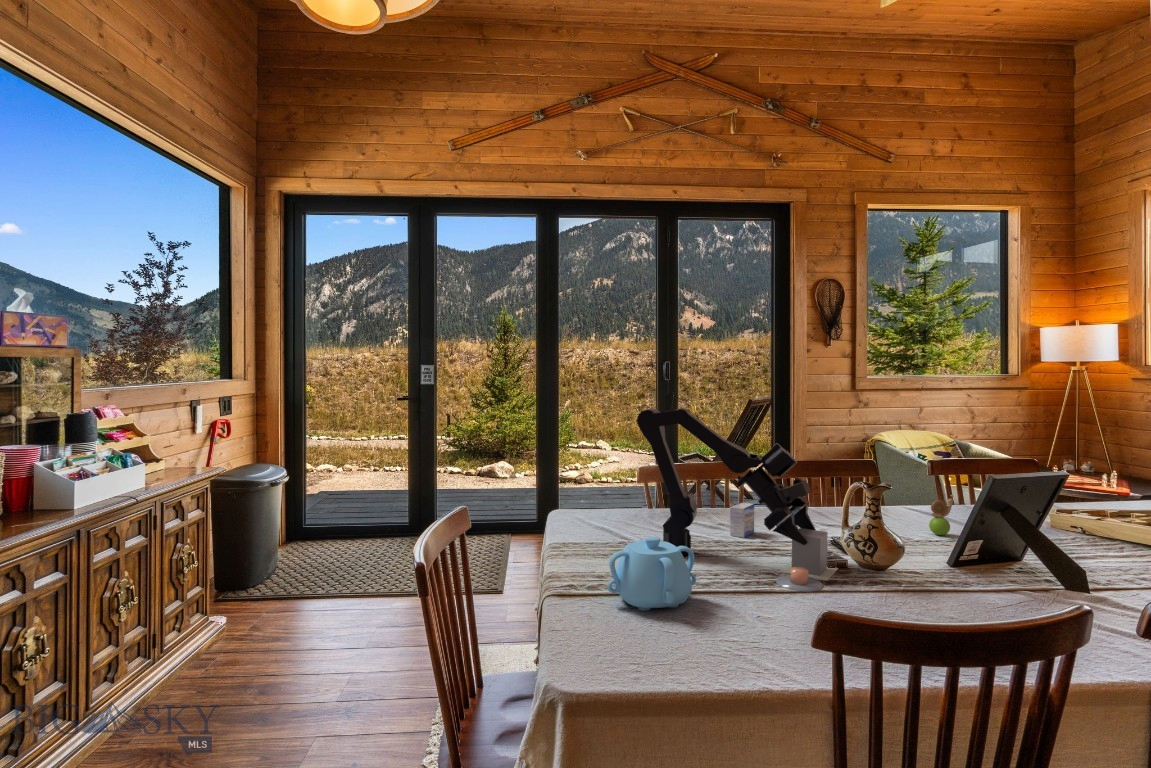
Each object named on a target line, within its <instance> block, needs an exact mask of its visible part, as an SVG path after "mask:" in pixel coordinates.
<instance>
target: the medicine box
mask: <svg viewBox="0 0 1151 768" xmlns="http://www.w3.org/2000/svg"><path fill="white" fill-rule="evenodd" d="M729 525H730V526H729V536H731V537H737V538H742V539H744V538H747V537H749V536H750V535H752V534H754V533H755V504H754V503H749V502H739V503H737V504H734V505H733V506H731V507H730V508H729Z"/></svg>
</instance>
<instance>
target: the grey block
mask: <svg viewBox="0 0 1151 768" xmlns="http://www.w3.org/2000/svg"><path fill="white" fill-rule="evenodd" d="M798 529H799V530H800V531H801V533H802V534H803V536H804V537H805V539H806V540H807V542H808V543H807V544H806V545H803V544H801V543H799V542H796V541H794V540H792V539H791V561H792V567H802V568H806V569H808V574H812V575H817V576H820V575H821V574H822V573H823V572H824V571H825V570H826V569H827V566H828V538H829V537H828V531H822V530H810V529H803V528H800V527H798Z"/></svg>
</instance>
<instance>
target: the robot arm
mask: <svg viewBox="0 0 1151 768" xmlns="http://www.w3.org/2000/svg"><path fill="white" fill-rule="evenodd" d="M636 425H637V427H638V428H639V430H640V432H641V434H642V435H643V437H644V438H645V439H646V441H647V442H648V443H649V445H650V447H651V449H652V452H653V453H652V454H653V456H654V458H655V461H656V463H657V466H658V470H659V472H660V475H661V477H662V481H663V482H664V486H665V489H666V491H667V494H668V503H669V505H668V507H669V513H670V516H669V517H668V518H667V519H666V520H665V522H664V523H663V524H662V528H663V531H662V537H663V538H662V539H663V540H662V541H665V542H668V543H671V544H673V545H674V546H676V547H678V546H686V547H688V548H690V549H691V550H692V546H691V545H692V536H691V534H690V533H691V531H690V529H688V527H690V526H691V525H692V524H693V523H694V521H695V519H696V517H697V514H698V511H697V509H698V508H699V506H698V505H697V503H696V502H695V496H694V493H693V492H692V493H689V494H688V493H687V492H686V491H685V489H684V487H683V484H682V481H681V479H680V476H679V472H678V470H677V467H676V464H675V462H674V458H673V457H672V454H671V451H670V448H669V445H668V442H667V440H666V429H665V426H671V425H680V426H681V427H682V428H684V429H685V430H686V431H687V432H689V433H690V434H692V435H693V436H694V437H695V438H697V440H699V441H701V442H702V443H704V444H705V445H706V446H707V447H708V448H709V449H711V450H712V451H713V452H714V453H715V454H716V455H717V456H718V457H719V459H720V460H721V462H722V463H723V465H724V464H725V466H726V467H727V468H728V469H729V470H730V471H731V472H733V473H734V474H743V473H745V474H743V475H738V476H737V484H736V486H737V487H739V488H740V487H743V486H744V485H747V486H748V487H749V489H750V491H752V492H753V493H754V495H756V496H757V498H758V499H759V500H758V501H757V502H758V503H759V504H760V505H762V504H764V506H765V507H766V508H767V509H768V510H769V512H770V514H768V515H767V516H766V517H765V518H764V519H763V520H764V523H763V525H764V526H765V527H766V528H767V529H768V531H772V532H773V533H777V534H780V535H782V536H784V537H787V538H789V539H791V541H792V540H794V541H796V542H799V543H801V544H803V545H806V544H807V543H808V542H807V540H806V539H805V537H804V536H803V534H802V533H801V531H800V530H799V528H803V529H810V530H816V527H815V526H814V523H813V522H812V519H811V518H810V515H809V512H808V511H809V500H808V499H807V498H806V496H808V495H809V494H811V493H812V492H811V490H810V487H809V486H810V483H809V482H807V481H806V480H804V479H803V478H802V477H799V478H796V479H794V480H793V483H792V484H791V485H790V486H787V487H785V486H784V485H783V484H781V483H779V484H777V482H776V481H775V480H774V479H773V478H776V477H779V478H781V477H783V476H784V475H785V474H786V473H787V472H789V471H790V469H792V468H793V467H794V466H795V465H797V464H798V461H797V460H796V458H795V457H794V456H793V455H792V454H791V453H790V452H789V450H786V449H785V448H784V447H782V445H780V444H779V443H778V442H776V443H775V444H773V446H772V447H771V448H770V449H769V450H768V451H767V452H766V453H765V454H764V455H761V454H760V455H759V454H754V453H751V452H750V451H749V450H747V449H745V448H744V447H742V446H740V445H738V444H736V443H734V442H731V441H729V440H728V439H725V438H723V437H722V436H721V435H719V434H718V432H716V431H714V429H712V428H710V427H709V426H708V425H706V424H705V423H704V422H703V421H701V420H700V419H699V418H698V417H696V416H695V415H693V414H692V413H691V412H690V411H689V409H687V408H685V407H681V408H677V409H667V410H666V409H665V410H658V409H656V408H653V407H651V408H648V409H644V410H642V411H640V412H639V414H638V416H637V418H636ZM753 468H756V469H754V470H753ZM749 469H750V470H749ZM746 471H747V472H746ZM770 475H771V476H772V477H773V478H772V477H771V476H770ZM772 529H773V530H772ZM681 553H682V555H683V557H686V556H687V557H688V556H689V554H688V552H686V551H681Z"/></svg>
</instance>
